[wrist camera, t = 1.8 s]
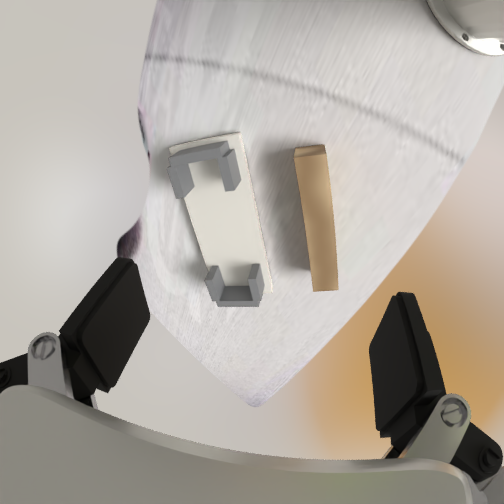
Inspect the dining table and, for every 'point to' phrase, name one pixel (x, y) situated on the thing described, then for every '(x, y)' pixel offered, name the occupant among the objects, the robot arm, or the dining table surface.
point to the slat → (317, 215)
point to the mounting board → (223, 217)
